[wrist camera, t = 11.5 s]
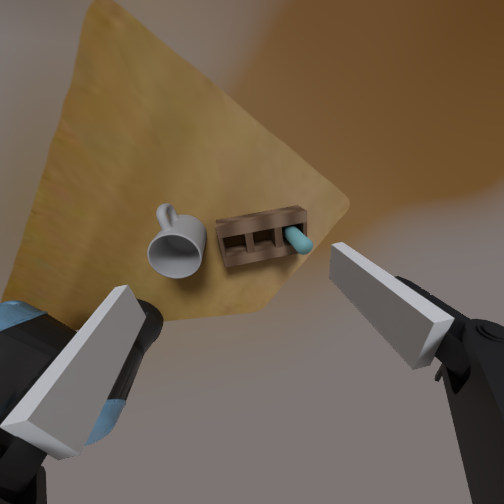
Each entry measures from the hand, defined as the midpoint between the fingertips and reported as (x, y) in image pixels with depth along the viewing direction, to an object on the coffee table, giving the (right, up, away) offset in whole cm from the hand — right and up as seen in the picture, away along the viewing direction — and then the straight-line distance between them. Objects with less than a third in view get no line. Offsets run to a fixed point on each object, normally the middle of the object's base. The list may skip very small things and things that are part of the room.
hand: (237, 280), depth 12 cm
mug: (-14, +7, +27) cm, 31 cm away
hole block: (+3, +6, +30) cm, 30 cm away
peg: (+9, +8, +30) cm, 32 cm away
